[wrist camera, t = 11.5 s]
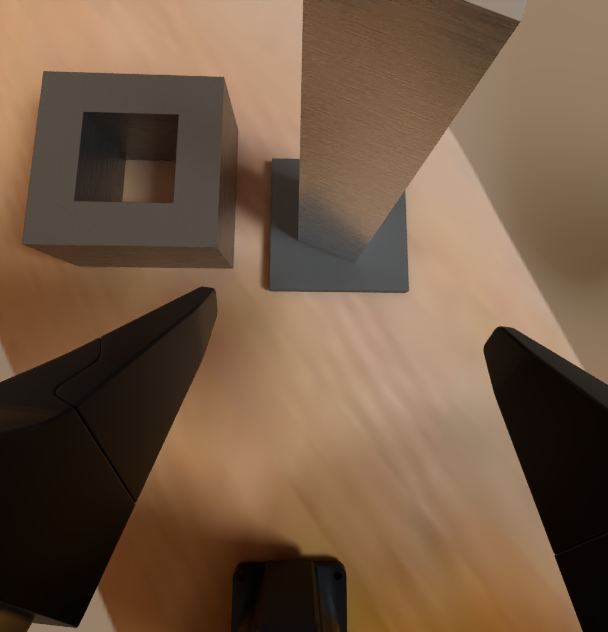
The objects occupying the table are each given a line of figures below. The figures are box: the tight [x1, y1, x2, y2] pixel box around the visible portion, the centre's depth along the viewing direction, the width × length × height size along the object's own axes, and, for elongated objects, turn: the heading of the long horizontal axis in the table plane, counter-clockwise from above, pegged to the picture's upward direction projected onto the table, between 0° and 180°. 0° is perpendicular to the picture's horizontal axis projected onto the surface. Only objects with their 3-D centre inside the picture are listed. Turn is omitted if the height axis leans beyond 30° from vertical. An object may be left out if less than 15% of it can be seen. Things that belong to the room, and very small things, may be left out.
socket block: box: [22, 71, 238, 269], centre depth 18 cm, size 10×10×4 cm
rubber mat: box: [270, 158, 409, 293], centre depth 19 cm, size 9×9×1 cm
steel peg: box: [298, 0, 528, 263], centre depth 12 cm, size 4×4×14 cm
